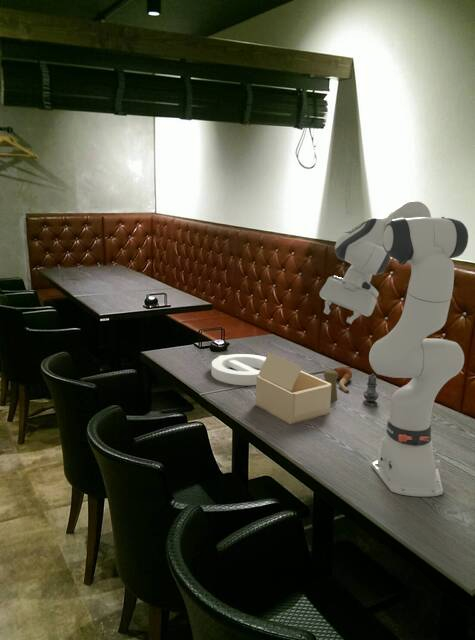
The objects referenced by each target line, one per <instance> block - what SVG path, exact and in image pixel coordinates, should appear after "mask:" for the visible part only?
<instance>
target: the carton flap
mask: <svg viewBox="0 0 475 640" xmlns="http://www.w3.org/2000/svg"><path fill="white" fill-rule="evenodd" d="M265 357H266V359H265V362H264V364H263V366H262V368H261V369H259V370H260V372H259V374H258V375H259V376H261V377H263V378H265V379H267V380H269V381H271V382H273V383H276V384H278V385H280V386H282V387H284V388H286V389H288V390H290V391H291V390H292V388H293V386H294V384H295V382H296V379H297V377H298V375H299V373H300V371H302V369H303V366H301V365H299V364H298V363H294V362H292V361H290V360H288V359H286V358H283V357H281V356H278V355H276V354H273V353H271V352H268V353H267V356H265Z"/></svg>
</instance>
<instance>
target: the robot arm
mask: <svg viewBox="0 0 475 640" xmlns="http://www.w3.org/2000/svg"><path fill="white" fill-rule="evenodd" d="M468 243H469V231H468V229H467V227H466V225H465V224H464V223H463V222H462V221H460V220H458V219H455V218H450V217H445V216H441V217H432V214H431V211H430V209H429V208H428V206H427V205H426V204H425V203H423V201H419V200H408V201H406V202H404V203H402V204H401V205H399V206H397V207H395V209H394V210H392V211H391V212H390V213H389V214H388V215H385V216H378V217H370V218H368V219H366V220H365V221H363V222H361V223H360V224H358V225H356V226H355V227H354V228H352V229H351V230H347V231H345V232H343V233H342V234H341V235H340V236H339V238H338V239H337V240H336V243H335V245H334V253H335V255H336V257H337V258H338V259H339V260H341V261H343V262H347V263H349V264H350V266H349V267H348V268H347V271H346V272H345V273H344V274H345V275H343V278H342V277H338V276H337V275H331V276H328V278H327V279H326V282H325V283H324V285H323V286H322V287H321V289H320V291H319V297H320V298H321V299H322V300H324V306H325V307H324V310H323V313H324V314H326V315H329V314H330V312H332V311H331V309H330V306H331V305H332V304H334V305H337V306H340V307H342V308H345V309H346V310H347V309H348V310H350V311H353V314H352V315H351V316H347V318H346V321H345V322H346V323H348V324H350V325H352V323H353V322H354V320H356V319H357V318H359V317H360V315H362V316H365V317H370V316H372V314H373V312H374V310H375V307H376V304H377V298H378V297H379V295H380V292H379V291H378V290H377V288H375V286H373V284H372V283H371V282H372V278H373V275H374V276H379V275H381V274H382V275H383V274H384V273H385V271H386V269H387V267H388V264H389V263H390V261H391V259H394V260H396V261H397V262H398V265H401V266H404V265H405V264H406V263H408V264H409V265H410V268H411V271H410V272H411V274H410V277H409V282H408V287H407V290H406V292H407V293H406V296H405V301H404V305H403V309H402V313H401V316H400V318H399V320H398V322H397V323H396V325H395V326H394V327H393V328H392V329H391V330H390V332H388V333H387V334H386V335H384V336H383V337H381V338H379V339H378V340H376V341H375V342H374V343H373V345H372V346H371V348H370V351H369V354H368V360H369V364H370V367H371V369H372V370H373V371H374V373H376V374H377V375H379V376H384V377H389V378H393V379H395V378H396V379H398V378H399V379H400V378H401V379H402V378H403V379H405V378H406V379H410V378H411V380H410V381H409V382H408V383H407V384H405V385H403V386H401V387H399V388H397V389H396V390H395V391H394V393H393V394H392V395H391V400H390V410H389V411H390V412H389V418H388V419H387V422H386V434H385V435H384V437H382V438H381V439H380V441H379V448H378V453H377V454H378V455H377V460H375V461H372V463H371V467H372V469H373V470H374V471H375V472H376V474H377V475H378V476H379V477H380V479H381V480H382V481H383V483H384V484H385V485H386V487H387V488H388V489H389V490H390V491H391V492H392V493H395V494H399V495H404V496H408V497H409V496H411V497H422V498H423V497H426V498H427V497H437V496H440V495H443V494H444V487H443V483H442V481H441V475H440V472H439V470H440V469H441V465H442V464H441V460H439V459H435V456H437V450H435V449H434V448H433V441H432V425H431V419H432V412H433V407H434V402H435V400H436V397H437V395H438V393H439V392H440V391H441V389H442V388H443V387H444V386H445V384H446V383H447V382H448V381H450V380H451V379H452V378H454V377H455V376H457V375H459V373H460V372H461V371H462V369H463V368H464V364H465V353H464V351H463V349H462V347H461V346H460V344H459V343H457V342H456V341H453V340H449V339H443V338H436V337H435V338H427V337H429V336H430V335H432V334H434V333H436V332H438V331H440V330H441V329H442V328H443V327H444V326H445V325H446V322H447V319H448V314H449V309H450V305H451V302H452V301H451V300H452V296H453V291H454V282H455V281H454V280H455V265H454V261H453V259H454V258H457V257H459V256H461V255H463V253H465V250H466V249H467V247H468Z"/></svg>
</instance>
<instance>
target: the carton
mask: <svg viewBox="0 0 475 640" xmlns="http://www.w3.org/2000/svg"><path fill="white" fill-rule="evenodd" d="M255 387H256V388H255V390H256V391H255V406H257V407H259V408H261V409H262V410H264V411H266V412H268V413H269V414H271V415H273V416H274V417H277V419H279V420H281V421H283V422H285V423H287V424H289V425H293V424H297V423H301V422H305V421H307V420H312V419H314V418H319V417H323V416H325V415H329V414H330V409H331V402H332V401H331V387H332V384H331V383H328V382H326V381H325V379H324V380H323V379H321V378H319V377H316V376H314V375H313V374H310V373H307V372H305V371H303V370H301V371H300V373H299V375H298V377H297V379H296V382H295V384H294V386H293V388H292V390H291V391H290V390H288V389H286V388H284V387H282V386H280V385H278V384H276V383H273V382H271V381H269V380H267V379H265V378H263V377H261V376H257V382H256V385H255Z"/></svg>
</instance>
